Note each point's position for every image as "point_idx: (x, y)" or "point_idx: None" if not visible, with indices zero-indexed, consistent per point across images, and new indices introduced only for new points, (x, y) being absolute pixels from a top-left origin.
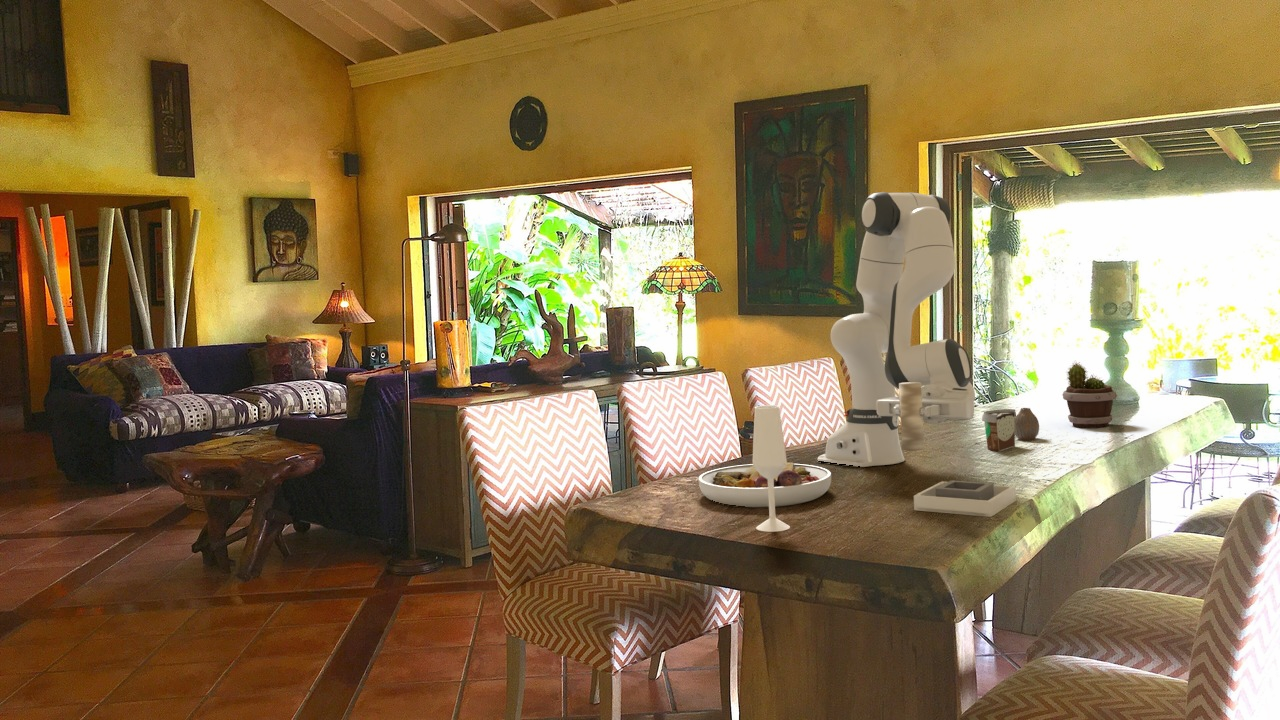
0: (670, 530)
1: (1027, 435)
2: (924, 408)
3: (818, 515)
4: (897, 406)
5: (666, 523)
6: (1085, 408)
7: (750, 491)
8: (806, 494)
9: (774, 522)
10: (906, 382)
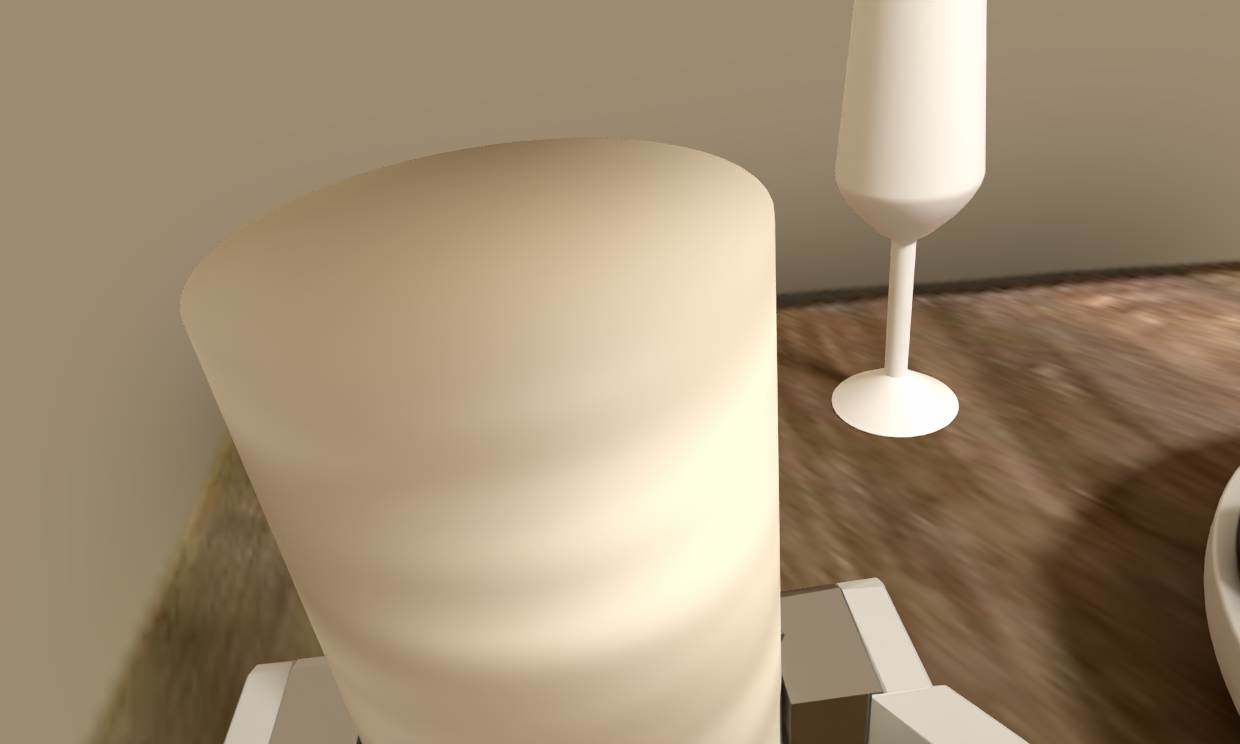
0: (1103, 278)
1: None
2: (299, 664)
3: (923, 575)
4: (891, 665)
5: (1215, 299)
6: None
7: None
8: (1218, 662)
9: (871, 374)
10: (682, 280)
